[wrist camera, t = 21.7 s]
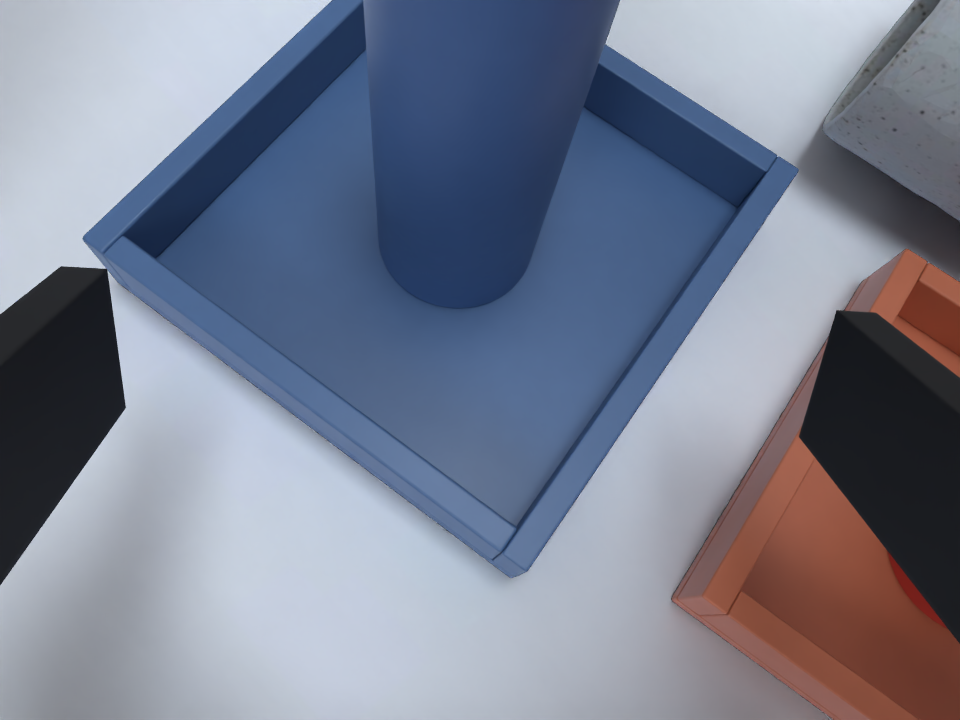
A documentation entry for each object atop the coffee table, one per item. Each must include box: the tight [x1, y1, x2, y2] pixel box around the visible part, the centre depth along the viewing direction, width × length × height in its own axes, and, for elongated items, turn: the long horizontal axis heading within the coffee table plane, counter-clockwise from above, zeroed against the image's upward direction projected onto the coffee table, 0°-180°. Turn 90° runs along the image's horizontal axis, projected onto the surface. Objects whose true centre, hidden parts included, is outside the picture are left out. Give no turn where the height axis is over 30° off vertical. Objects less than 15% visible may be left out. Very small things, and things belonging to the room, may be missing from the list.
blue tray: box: [83, 0, 799, 578], centre depth 22 cm, size 13×13×3 cm
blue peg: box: [363, 0, 620, 308], centre depth 17 cm, size 4×4×12 cm
